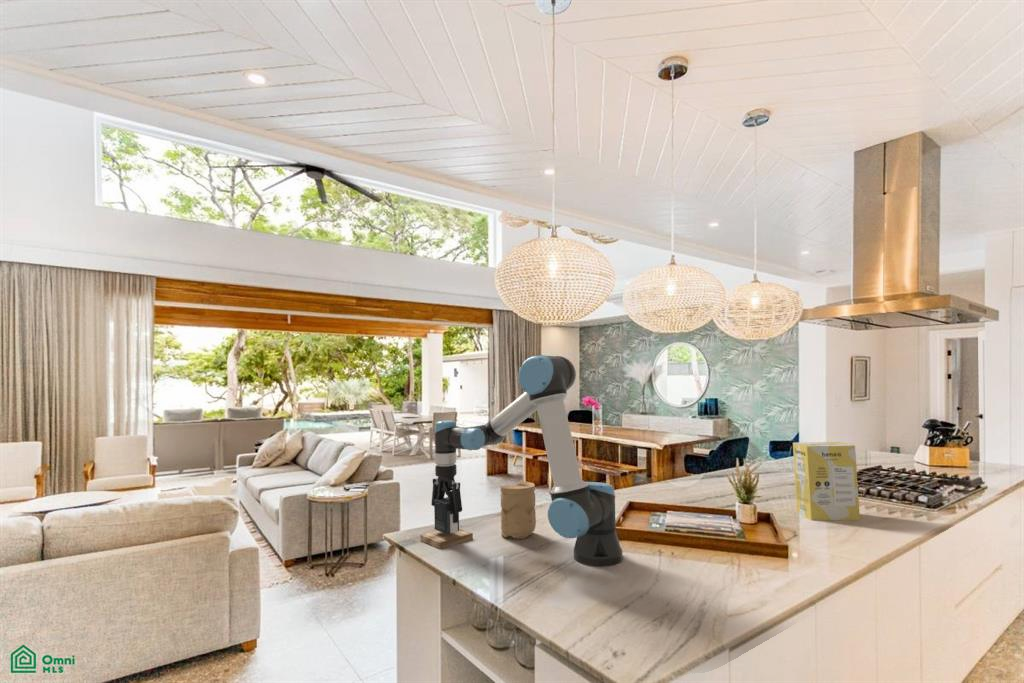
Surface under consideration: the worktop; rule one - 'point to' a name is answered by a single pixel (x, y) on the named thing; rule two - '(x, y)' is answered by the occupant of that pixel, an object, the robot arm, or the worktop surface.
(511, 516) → the container
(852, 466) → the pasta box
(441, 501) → the box
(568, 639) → the worktop surface
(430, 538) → the board
